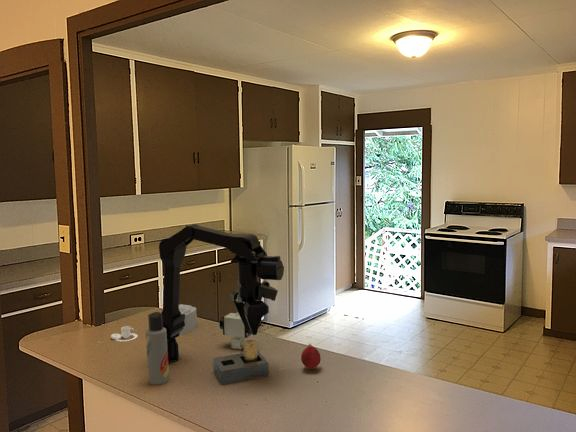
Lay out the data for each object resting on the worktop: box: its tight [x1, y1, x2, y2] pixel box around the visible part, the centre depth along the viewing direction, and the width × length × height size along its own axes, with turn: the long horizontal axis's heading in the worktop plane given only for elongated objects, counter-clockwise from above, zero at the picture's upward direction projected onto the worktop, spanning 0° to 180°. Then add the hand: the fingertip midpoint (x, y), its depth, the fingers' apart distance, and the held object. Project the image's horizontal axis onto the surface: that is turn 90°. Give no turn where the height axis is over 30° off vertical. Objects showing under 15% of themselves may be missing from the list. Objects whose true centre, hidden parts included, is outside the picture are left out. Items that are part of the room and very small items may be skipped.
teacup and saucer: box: [110, 325, 138, 342], centre depth 177 cm, size 9×8×4 cm
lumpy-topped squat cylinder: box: [179, 303, 198, 336], centre depth 184 cm, size 10×13×9 cm
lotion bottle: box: [145, 311, 170, 386], centre depth 141 cm, size 6×6×20 cm
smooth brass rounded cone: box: [243, 339, 258, 364], centre depth 146 cm, size 4×4×9 cm
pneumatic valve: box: [219, 312, 253, 350], centre depth 165 cm, size 6×12×12 cm, turn 66°
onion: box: [300, 343, 322, 371], centre depth 146 cm, size 6×6×8 cm
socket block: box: [212, 350, 270, 386], centre depth 145 cm, size 14×10×4 cm
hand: (250, 329), depth 145 cm, fingers open, 9 cm apart
